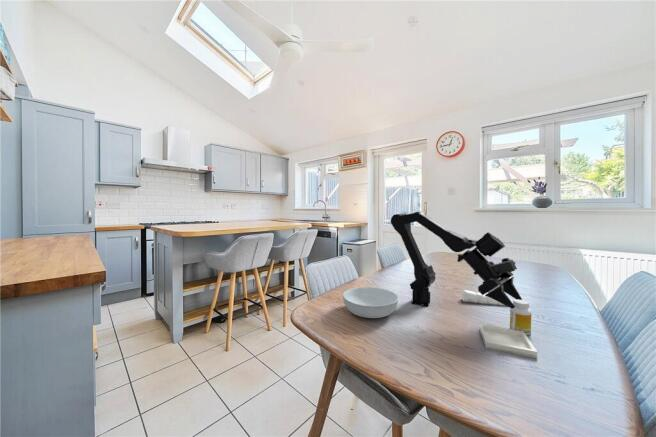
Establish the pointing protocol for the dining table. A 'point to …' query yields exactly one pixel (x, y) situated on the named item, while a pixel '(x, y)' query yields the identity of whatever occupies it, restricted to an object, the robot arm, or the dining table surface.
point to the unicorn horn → (478, 298)
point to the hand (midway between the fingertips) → (517, 304)
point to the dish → (507, 341)
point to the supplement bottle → (520, 316)
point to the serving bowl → (370, 301)
